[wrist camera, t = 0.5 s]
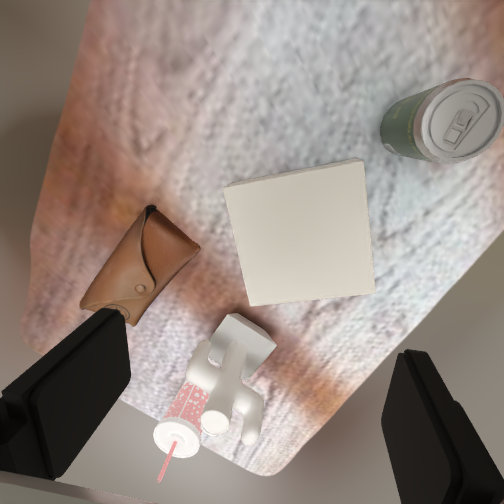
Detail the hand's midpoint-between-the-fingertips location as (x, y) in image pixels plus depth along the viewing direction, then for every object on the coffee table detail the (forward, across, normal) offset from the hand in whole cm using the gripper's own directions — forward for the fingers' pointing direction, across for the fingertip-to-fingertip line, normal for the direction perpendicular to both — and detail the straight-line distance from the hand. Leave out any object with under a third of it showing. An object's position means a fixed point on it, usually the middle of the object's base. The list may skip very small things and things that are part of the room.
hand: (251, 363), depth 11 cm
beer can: (+28, -11, -9) cm, 31 cm away
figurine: (+27, +5, +18) cm, 33 cm away
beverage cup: (+27, +11, +29) cm, 42 cm away
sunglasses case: (+28, +19, +11) cm, 35 cm away
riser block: (+27, -2, +3) cm, 27 cm away
